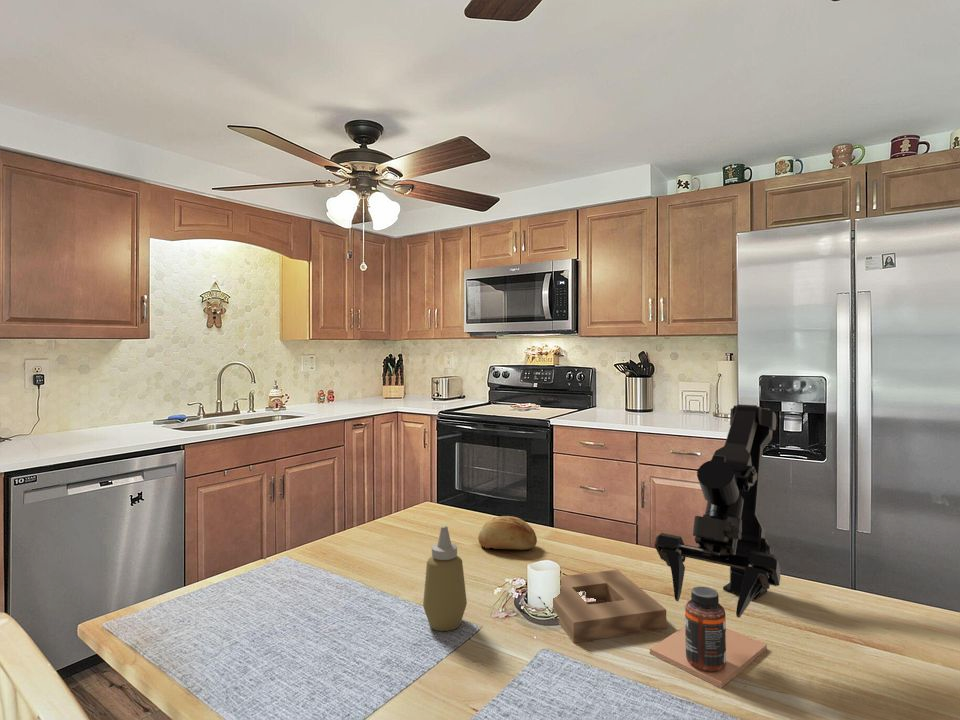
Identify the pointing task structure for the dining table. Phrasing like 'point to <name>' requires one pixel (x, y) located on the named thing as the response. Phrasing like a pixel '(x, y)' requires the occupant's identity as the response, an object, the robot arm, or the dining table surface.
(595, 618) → the walnut holder
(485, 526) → the bread roll
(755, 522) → the robot arm
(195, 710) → the dining table surface
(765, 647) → the terracotta tile
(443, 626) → the squeeze bottle
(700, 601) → the supplement bottle
